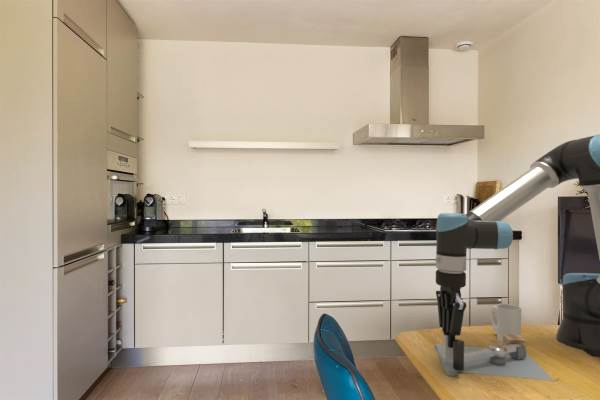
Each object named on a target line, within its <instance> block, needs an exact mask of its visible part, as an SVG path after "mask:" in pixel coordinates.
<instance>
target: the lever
mask: <svg viewBox="0 0 600 400" xmlns="http://www.w3.org/2000/svg"><path fill="white" fill-rule="evenodd" d="M464 346H465V341H464V340H463V339H457V338H455V339H454V340H453V368H454V369H455V370H459V371H462V370H464V362H469V361H474V360H478V359H483V358H488V357H496V358H506V357H507V353H510V356H511V357H514V358H516V359H522V358H526V353H527V345H526V346H523V345H521V344H518V343H516V344H511V345H505V346H503V345H502V344H501V345H500V344H495V343H494V344H488V347H487V348H488V349H483V350H478V351H473V352H468V353H464Z"/></svg>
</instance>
